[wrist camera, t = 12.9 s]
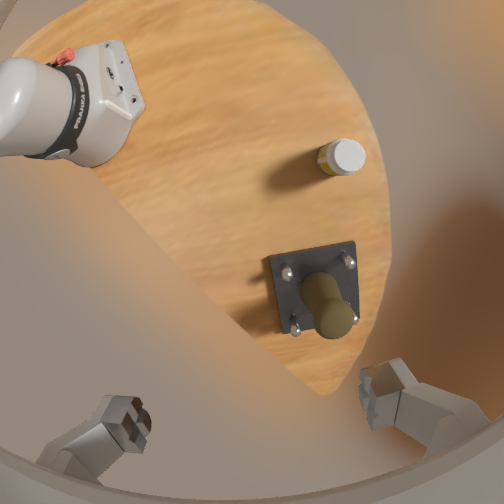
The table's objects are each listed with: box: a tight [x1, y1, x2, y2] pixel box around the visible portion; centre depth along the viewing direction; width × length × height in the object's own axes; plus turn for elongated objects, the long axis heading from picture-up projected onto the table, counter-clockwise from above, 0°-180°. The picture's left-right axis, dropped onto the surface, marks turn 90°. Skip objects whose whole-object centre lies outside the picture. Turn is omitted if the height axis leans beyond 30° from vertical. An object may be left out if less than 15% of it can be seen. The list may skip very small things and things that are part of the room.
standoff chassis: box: [269, 241, 360, 337], centre depth 42 cm, size 13×13×5 cm
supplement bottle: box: [317, 139, 365, 176], centre depth 35 cm, size 5×5×8 cm
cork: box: [300, 272, 354, 339], centre depth 37 cm, size 6×6×11 cm
